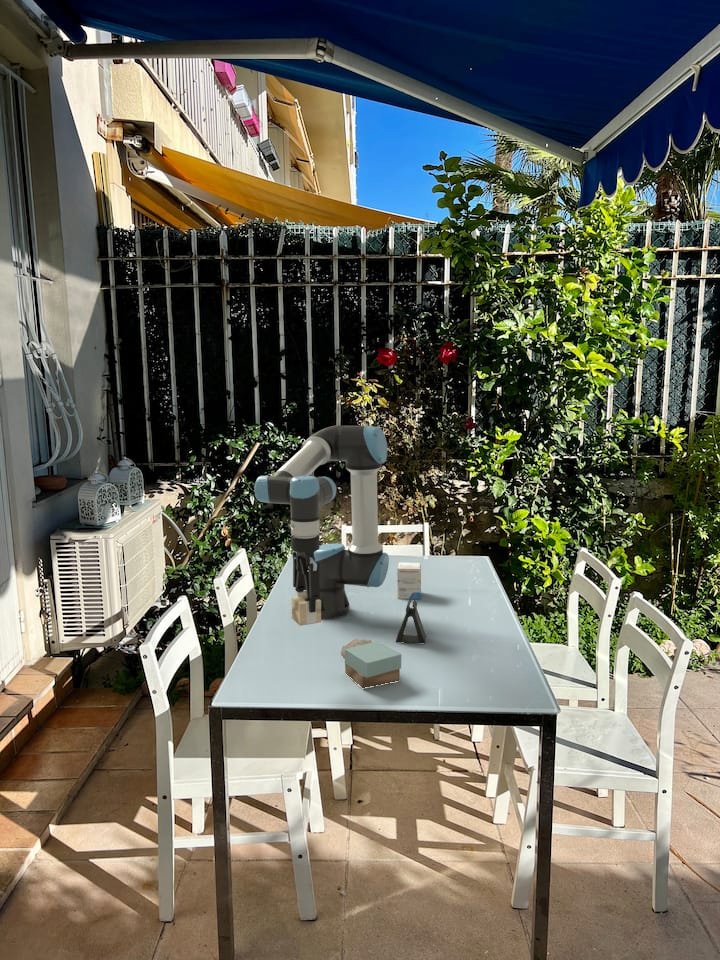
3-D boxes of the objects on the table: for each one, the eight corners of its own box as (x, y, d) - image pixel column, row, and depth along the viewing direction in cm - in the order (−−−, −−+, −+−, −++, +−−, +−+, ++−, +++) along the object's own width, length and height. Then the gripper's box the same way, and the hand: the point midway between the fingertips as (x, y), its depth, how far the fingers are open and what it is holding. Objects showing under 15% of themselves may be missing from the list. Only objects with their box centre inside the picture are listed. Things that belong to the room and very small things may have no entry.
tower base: (345, 675, 196) (345, 661, 195) (380, 668, 201) (380, 654, 200) (362, 691, 186) (362, 677, 185) (399, 683, 191) (399, 669, 190)
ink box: (421, 592, 267) (421, 562, 265) (420, 599, 259) (421, 568, 257) (398, 591, 268) (398, 561, 266) (396, 598, 259) (397, 567, 258)
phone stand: (395, 642, 218) (395, 604, 216) (397, 635, 224) (398, 598, 222) (424, 644, 217) (425, 606, 215) (426, 637, 222) (427, 600, 221)
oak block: (292, 618, 193) (291, 597, 192) (312, 615, 195) (312, 594, 194) (300, 625, 188) (299, 604, 187) (321, 622, 190) (321, 600, 189)
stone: (333, 649, 214) (333, 640, 214) (369, 643, 218) (369, 635, 218) (347, 663, 203) (347, 654, 203) (385, 657, 208) (385, 648, 207)
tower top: (344, 663, 194) (344, 649, 194) (378, 654, 200) (378, 640, 199) (366, 677, 185) (366, 663, 184) (401, 668, 191) (401, 654, 190)
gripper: (279, 529, 194) (281, 610, 198) (305, 545, 178) (306, 633, 181) (305, 526, 198) (306, 605, 201) (332, 541, 181) (333, 628, 185)
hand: (306, 618), depth 191 cm, fingers closed on oak block, 6 cm apart
